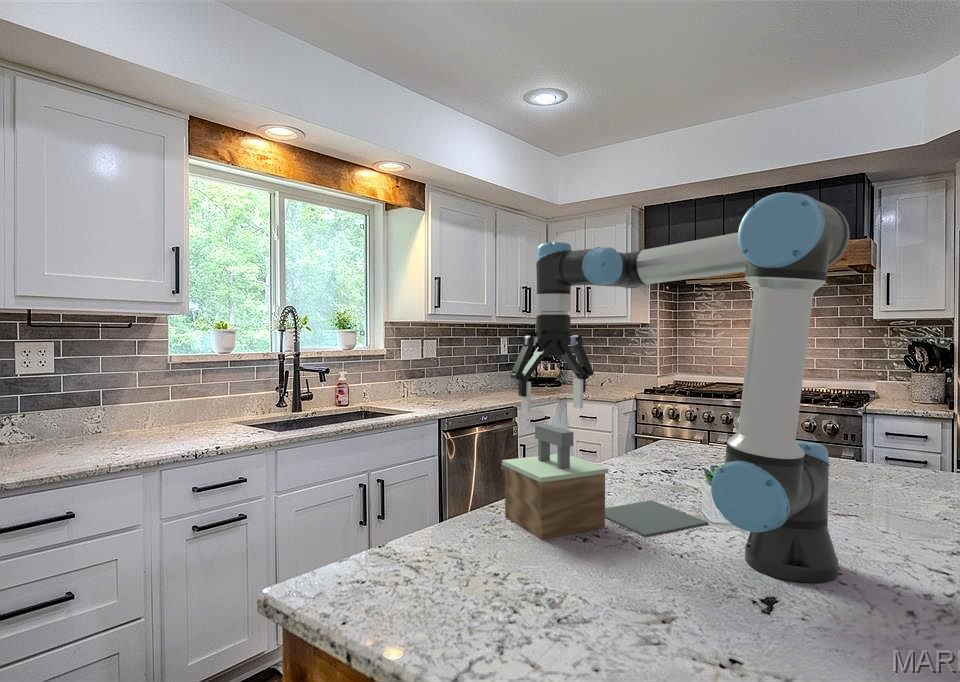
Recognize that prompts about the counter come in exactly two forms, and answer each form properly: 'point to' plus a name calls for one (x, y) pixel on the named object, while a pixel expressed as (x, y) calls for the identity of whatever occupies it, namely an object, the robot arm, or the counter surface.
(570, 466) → the lid
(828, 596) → the counter surface
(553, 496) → the crate
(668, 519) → the mat
